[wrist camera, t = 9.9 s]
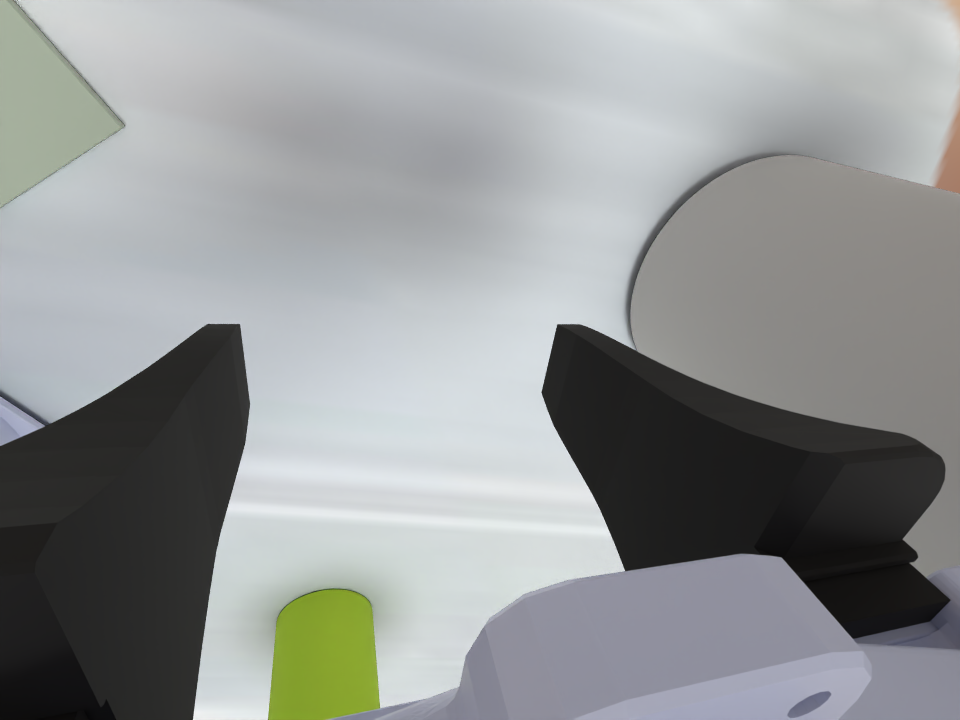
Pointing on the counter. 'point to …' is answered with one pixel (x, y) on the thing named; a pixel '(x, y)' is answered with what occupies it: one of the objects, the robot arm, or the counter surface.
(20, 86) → the sage mat
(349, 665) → the soap dispenser
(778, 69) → the counter surface
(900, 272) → the cylinder vase
